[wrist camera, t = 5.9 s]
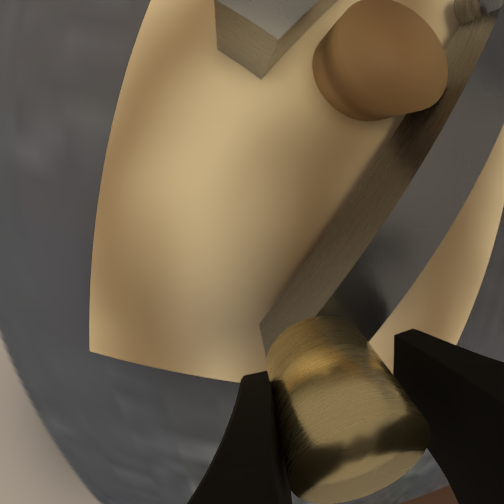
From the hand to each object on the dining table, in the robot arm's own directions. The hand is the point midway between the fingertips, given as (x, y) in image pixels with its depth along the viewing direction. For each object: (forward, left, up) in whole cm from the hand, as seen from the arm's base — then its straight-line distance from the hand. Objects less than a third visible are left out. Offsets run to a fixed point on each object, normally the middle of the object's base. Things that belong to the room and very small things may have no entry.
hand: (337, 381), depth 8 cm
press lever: (-3, -8, -4) cm, 9 cm away
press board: (-1, -7, -6) cm, 9 cm away
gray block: (+3, -11, -6) cm, 13 cm away
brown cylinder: (0, -10, -5) cm, 11 cm away
